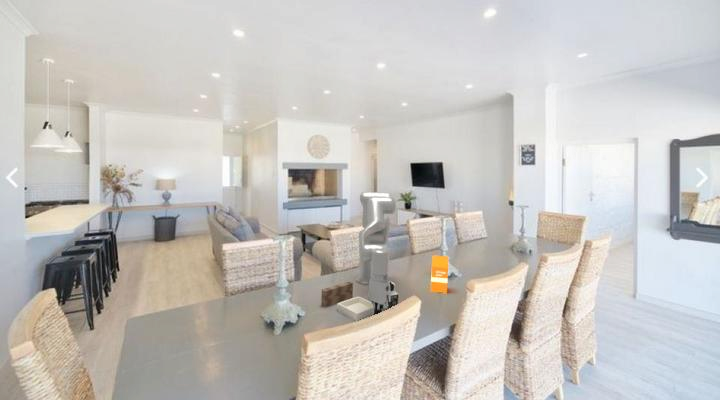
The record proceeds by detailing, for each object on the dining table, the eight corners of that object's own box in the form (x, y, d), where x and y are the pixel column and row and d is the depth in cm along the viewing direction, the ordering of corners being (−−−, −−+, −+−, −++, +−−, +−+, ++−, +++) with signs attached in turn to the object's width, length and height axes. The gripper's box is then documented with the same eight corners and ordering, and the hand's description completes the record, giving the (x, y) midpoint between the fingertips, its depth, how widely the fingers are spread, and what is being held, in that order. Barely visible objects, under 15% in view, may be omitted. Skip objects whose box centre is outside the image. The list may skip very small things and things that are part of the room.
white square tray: (358, 302, 163) (358, 296, 163) (378, 312, 153) (378, 305, 153) (336, 310, 153) (336, 303, 153) (357, 321, 143) (357, 313, 143)
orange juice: (446, 293, 180) (449, 258, 178) (430, 291, 181) (432, 257, 179) (446, 288, 187) (448, 254, 185) (430, 286, 189) (432, 253, 187)
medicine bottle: (385, 310, 156) (386, 286, 155) (378, 304, 162) (378, 281, 161) (397, 307, 159) (398, 283, 158) (390, 302, 166) (391, 279, 164)
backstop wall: (348, 296, 171) (349, 281, 170) (352, 297, 169) (352, 283, 168) (321, 305, 159) (321, 289, 158) (325, 307, 157) (325, 291, 156)
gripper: (398, 279, 139) (396, 320, 141) (373, 270, 150) (371, 308, 152) (386, 283, 134) (384, 325, 136) (361, 274, 145) (360, 313, 147)
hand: (377, 316), depth 144 cm, fingers closed
